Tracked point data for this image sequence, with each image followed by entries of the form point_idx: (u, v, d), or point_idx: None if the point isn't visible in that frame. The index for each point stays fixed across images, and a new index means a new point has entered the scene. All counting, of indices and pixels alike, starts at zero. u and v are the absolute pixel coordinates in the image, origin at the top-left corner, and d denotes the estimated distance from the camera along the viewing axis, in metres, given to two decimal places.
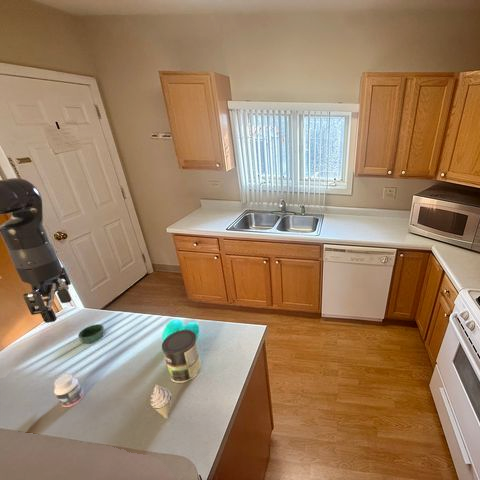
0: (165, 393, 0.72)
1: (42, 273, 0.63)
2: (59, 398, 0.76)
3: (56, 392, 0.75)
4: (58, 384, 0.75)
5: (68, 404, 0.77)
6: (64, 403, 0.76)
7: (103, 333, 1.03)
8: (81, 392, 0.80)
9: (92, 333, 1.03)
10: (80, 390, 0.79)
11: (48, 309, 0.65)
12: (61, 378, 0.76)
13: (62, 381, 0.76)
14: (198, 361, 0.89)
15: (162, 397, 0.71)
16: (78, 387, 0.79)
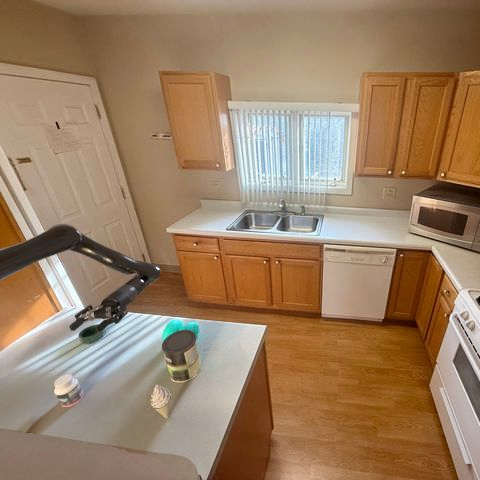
0: (165, 393, 0.72)
1: (126, 306, 0.95)
2: (59, 398, 0.76)
3: (56, 392, 0.75)
4: (58, 384, 0.75)
5: (68, 404, 0.77)
6: (64, 403, 0.76)
7: (103, 333, 1.03)
8: (81, 392, 0.80)
9: (92, 333, 1.03)
10: (80, 390, 0.79)
11: (111, 323, 0.87)
12: (61, 378, 0.76)
13: (62, 381, 0.76)
14: (198, 361, 0.89)
15: (162, 397, 0.71)
16: (78, 387, 0.79)
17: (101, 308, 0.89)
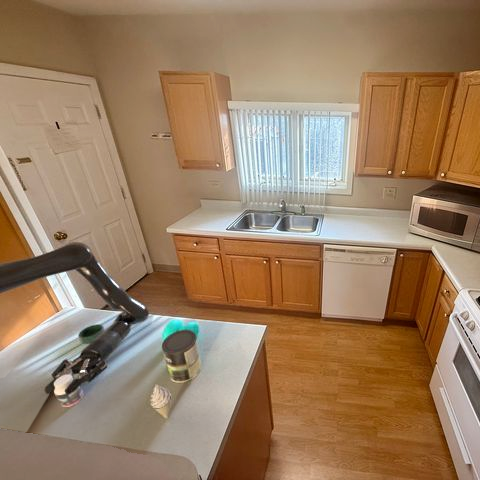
0: (165, 393, 0.72)
1: (108, 356, 0.88)
2: (59, 398, 0.76)
3: (56, 392, 0.75)
4: (58, 384, 0.75)
5: (68, 404, 0.77)
6: (64, 403, 0.76)
7: None
8: (81, 392, 0.80)
9: (92, 333, 1.03)
10: (80, 390, 0.79)
11: (83, 381, 0.79)
12: (61, 378, 0.76)
13: (62, 381, 0.75)
14: (198, 361, 0.89)
15: (162, 397, 0.71)
16: (78, 387, 0.78)
17: (80, 361, 0.82)
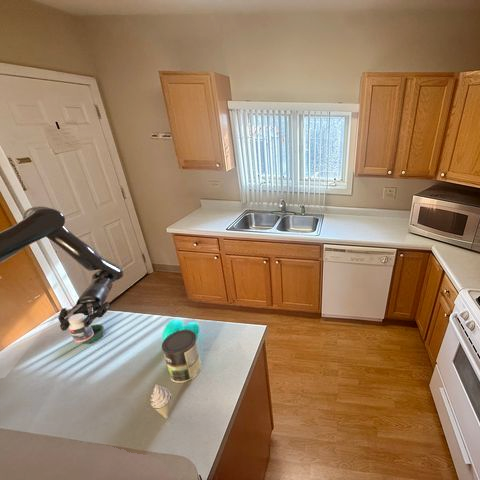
0: (165, 393, 0.72)
1: None
2: (76, 333, 0.85)
3: (73, 327, 0.85)
4: (74, 320, 0.84)
5: (84, 338, 0.87)
6: (81, 337, 0.87)
7: (103, 333, 1.03)
8: (92, 329, 0.90)
9: None
10: (91, 327, 0.90)
11: (94, 318, 0.90)
12: (73, 316, 0.86)
13: (76, 318, 0.85)
14: (198, 361, 0.89)
15: (162, 397, 0.71)
16: None
17: (82, 306, 0.91)
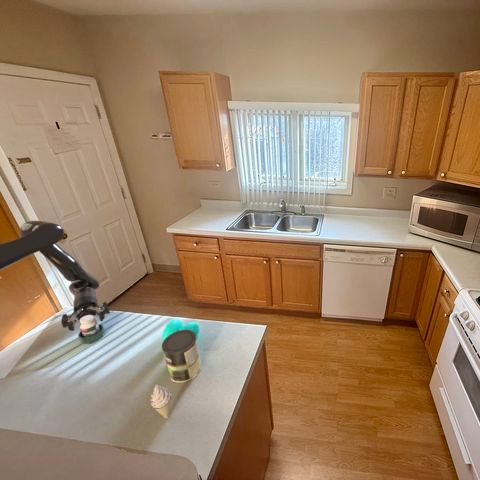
0: (165, 393, 0.72)
1: None
2: (89, 331, 0.99)
3: (86, 327, 0.98)
4: (86, 320, 0.98)
5: None
6: None
7: (103, 333, 1.03)
8: None
9: None
10: None
11: None
12: (83, 318, 0.99)
13: (87, 318, 0.99)
14: (198, 361, 0.89)
15: (162, 397, 0.71)
16: (97, 323, 1.03)
17: (82, 310, 1.03)
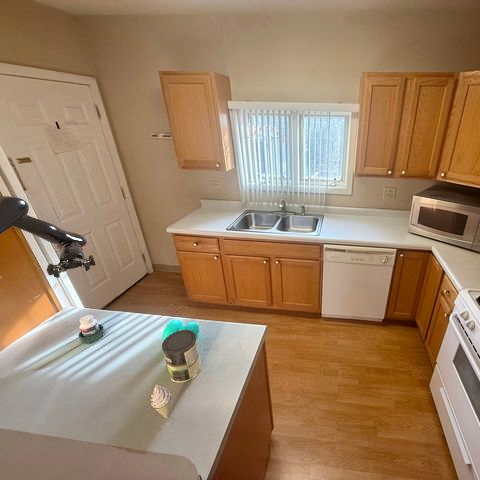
0: (165, 393, 0.72)
1: None
2: (89, 331, 0.99)
3: (86, 327, 0.98)
4: (86, 320, 0.98)
5: None
6: None
7: (103, 333, 1.03)
8: None
9: None
10: None
11: None
12: (83, 318, 0.99)
13: (87, 318, 0.99)
14: (198, 361, 0.89)
15: (162, 397, 0.71)
16: (97, 323, 1.03)
17: (68, 261, 1.05)
